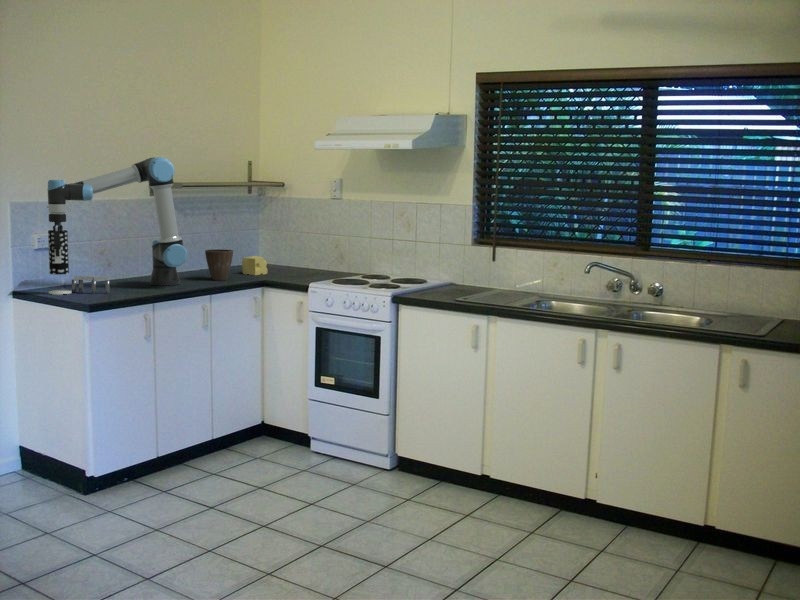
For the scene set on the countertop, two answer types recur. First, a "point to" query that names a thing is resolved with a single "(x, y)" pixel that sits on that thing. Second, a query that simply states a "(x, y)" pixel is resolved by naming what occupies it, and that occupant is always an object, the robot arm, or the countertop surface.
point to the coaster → (60, 292)
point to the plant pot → (219, 263)
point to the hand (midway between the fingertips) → (59, 262)
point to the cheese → (254, 265)
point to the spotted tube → (64, 265)
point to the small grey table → (93, 279)
